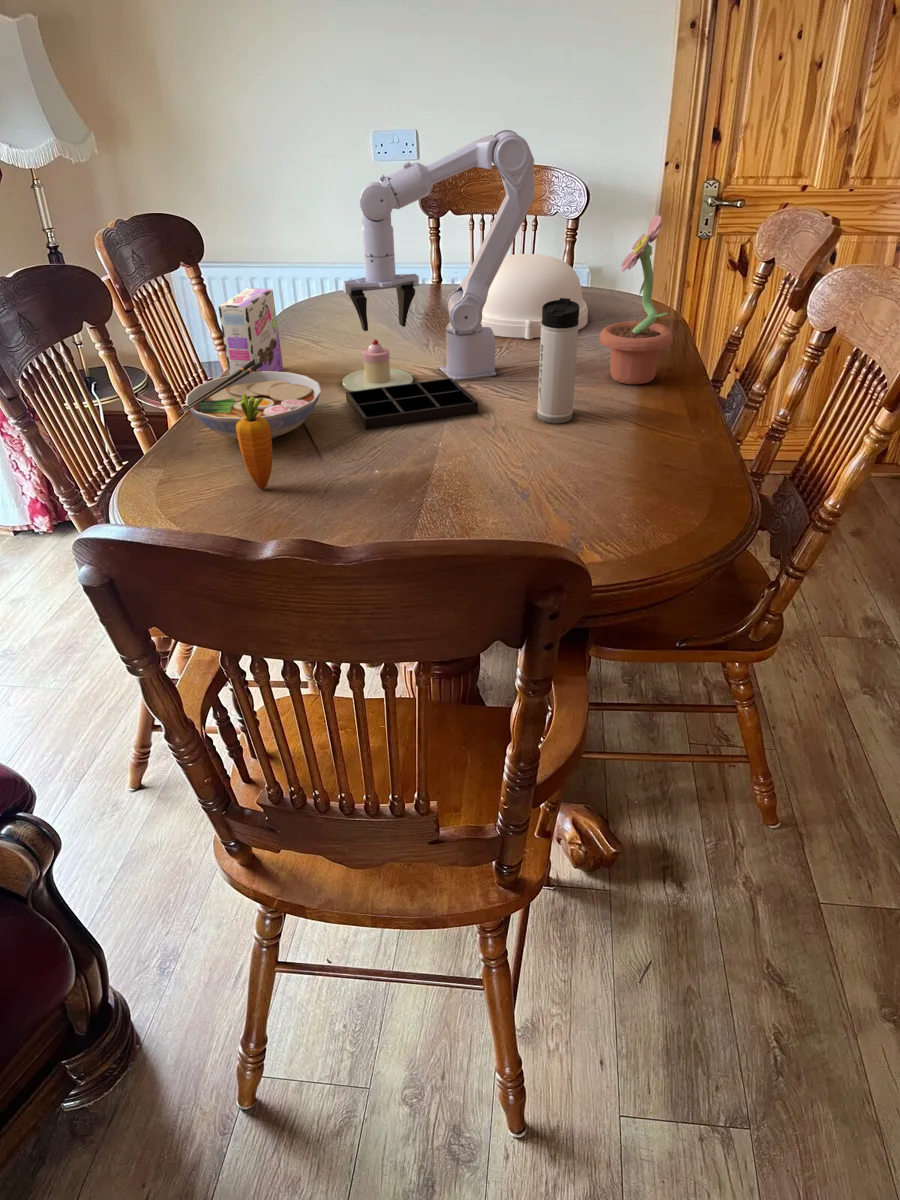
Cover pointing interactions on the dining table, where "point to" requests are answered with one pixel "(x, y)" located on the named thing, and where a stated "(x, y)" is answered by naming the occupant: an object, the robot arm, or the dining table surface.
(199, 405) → the ramen bowl
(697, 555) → the dining table surface
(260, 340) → the candy box
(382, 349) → the cupcake
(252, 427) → the carrot
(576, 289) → the dome cover
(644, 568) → the dining table surface
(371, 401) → the black compartment tray
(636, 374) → the decorative flower
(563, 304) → the travel mug
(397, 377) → the plate
